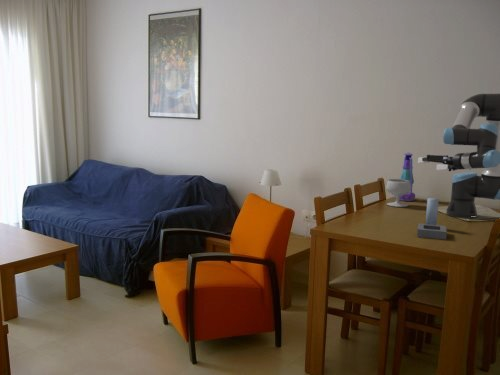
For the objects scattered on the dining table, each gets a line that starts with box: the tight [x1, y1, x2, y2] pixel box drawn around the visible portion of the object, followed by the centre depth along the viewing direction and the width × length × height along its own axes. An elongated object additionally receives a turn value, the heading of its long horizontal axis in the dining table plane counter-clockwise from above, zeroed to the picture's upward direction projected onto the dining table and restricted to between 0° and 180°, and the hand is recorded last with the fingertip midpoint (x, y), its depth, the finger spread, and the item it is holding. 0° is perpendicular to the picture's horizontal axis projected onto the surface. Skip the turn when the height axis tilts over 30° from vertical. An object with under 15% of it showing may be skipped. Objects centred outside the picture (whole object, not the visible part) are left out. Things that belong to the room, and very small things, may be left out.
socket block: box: [416, 222, 448, 241], centre depth 215 cm, size 12×12×4 cm
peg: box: [425, 197, 439, 225], centre depth 228 cm, size 5×5×14 cm
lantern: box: [399, 152, 416, 202], centre depth 297 cm, size 13×12×30 cm
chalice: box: [385, 178, 411, 208], centre depth 280 cm, size 14×14×15 cm
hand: (427, 163), depth 236 cm, fingers open, 13 cm apart
